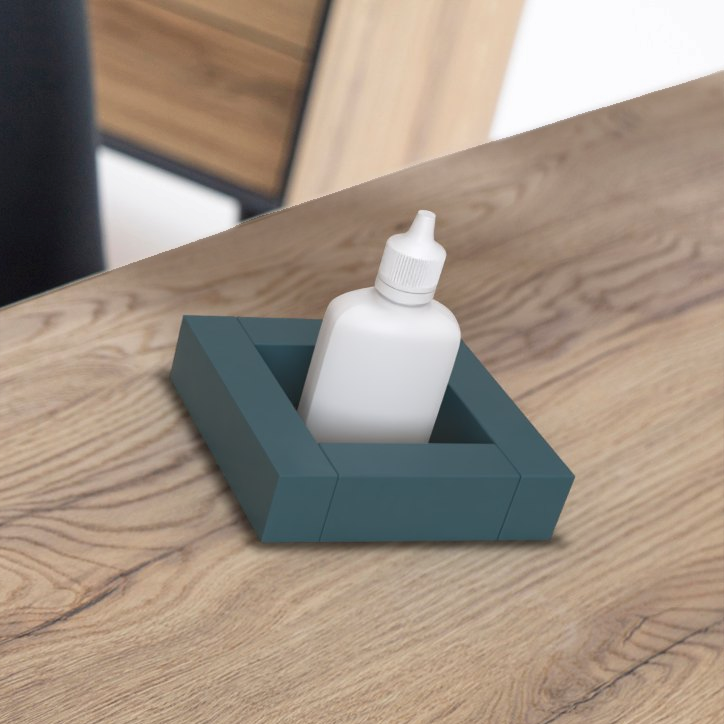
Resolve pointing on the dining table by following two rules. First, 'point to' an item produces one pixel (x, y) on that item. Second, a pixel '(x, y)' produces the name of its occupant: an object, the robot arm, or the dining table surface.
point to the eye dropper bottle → (385, 350)
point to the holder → (361, 447)
